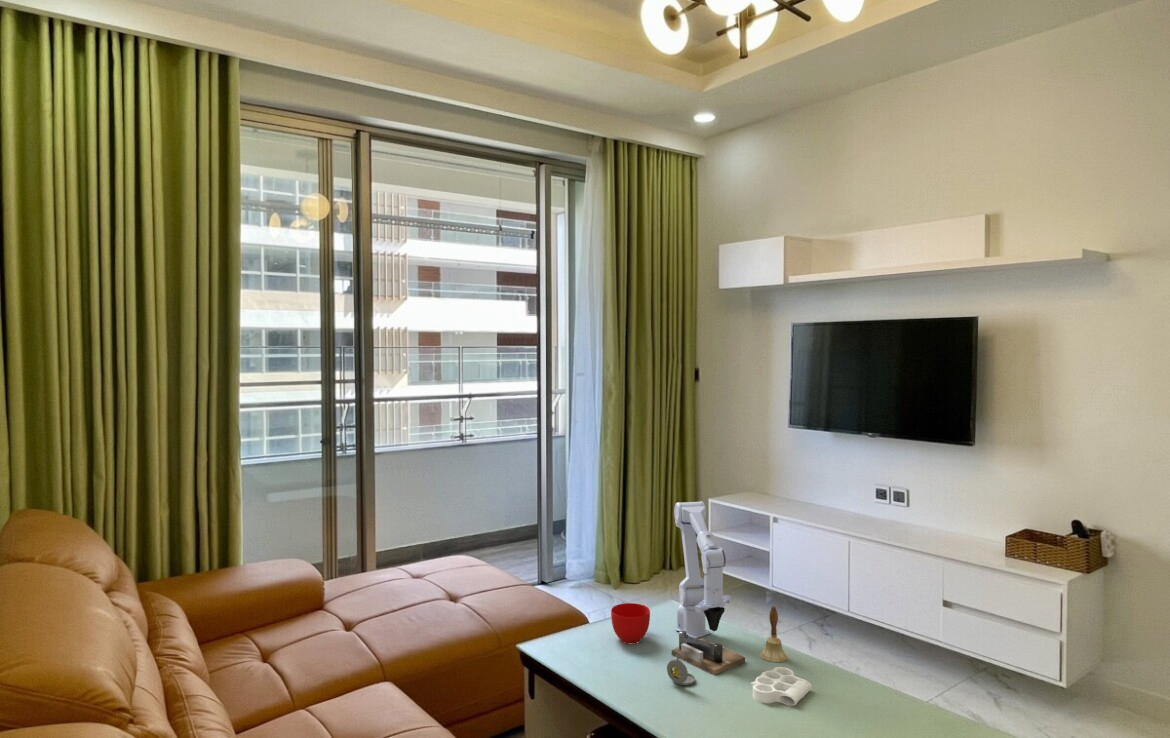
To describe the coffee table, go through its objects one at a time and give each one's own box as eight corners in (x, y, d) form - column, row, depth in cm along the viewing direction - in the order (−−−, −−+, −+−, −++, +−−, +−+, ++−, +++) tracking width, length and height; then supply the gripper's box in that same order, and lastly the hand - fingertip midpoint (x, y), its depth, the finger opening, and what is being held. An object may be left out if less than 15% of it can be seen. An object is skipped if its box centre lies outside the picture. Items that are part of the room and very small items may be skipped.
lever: (677, 648, 224) (677, 632, 224) (682, 645, 226) (682, 629, 226) (719, 663, 214) (719, 646, 214) (724, 660, 216) (724, 643, 216)
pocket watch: (694, 676, 210) (694, 643, 209) (696, 690, 201) (696, 655, 201) (666, 675, 210) (666, 642, 210) (667, 688, 202) (667, 654, 202)
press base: (671, 654, 224) (671, 640, 224) (702, 642, 233) (702, 629, 233) (714, 675, 210) (714, 660, 210) (745, 662, 219) (745, 647, 219)
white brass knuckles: (790, 714, 189) (740, 696, 198) (816, 688, 203) (768, 673, 212) (790, 701, 189) (740, 684, 198) (816, 676, 203) (768, 662, 212)
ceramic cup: (662, 633, 241) (662, 604, 241) (638, 651, 227) (638, 620, 226) (628, 625, 248) (628, 596, 247) (603, 642, 234) (603, 612, 233)
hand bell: (790, 662, 218) (790, 611, 218) (763, 662, 218) (763, 611, 218) (783, 650, 227) (783, 601, 226) (757, 650, 227) (757, 601, 226)
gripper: (707, 596, 215) (707, 640, 215) (738, 585, 224) (738, 628, 224) (690, 589, 220) (690, 632, 221) (721, 579, 229) (721, 621, 230)
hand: (713, 629), depth 223 cm, fingers closed
